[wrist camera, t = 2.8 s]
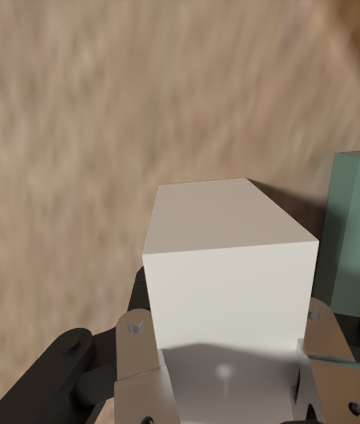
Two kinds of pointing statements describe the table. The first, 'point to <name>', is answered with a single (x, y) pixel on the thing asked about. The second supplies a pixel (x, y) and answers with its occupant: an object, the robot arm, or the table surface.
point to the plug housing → (228, 299)
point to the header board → (341, 239)
